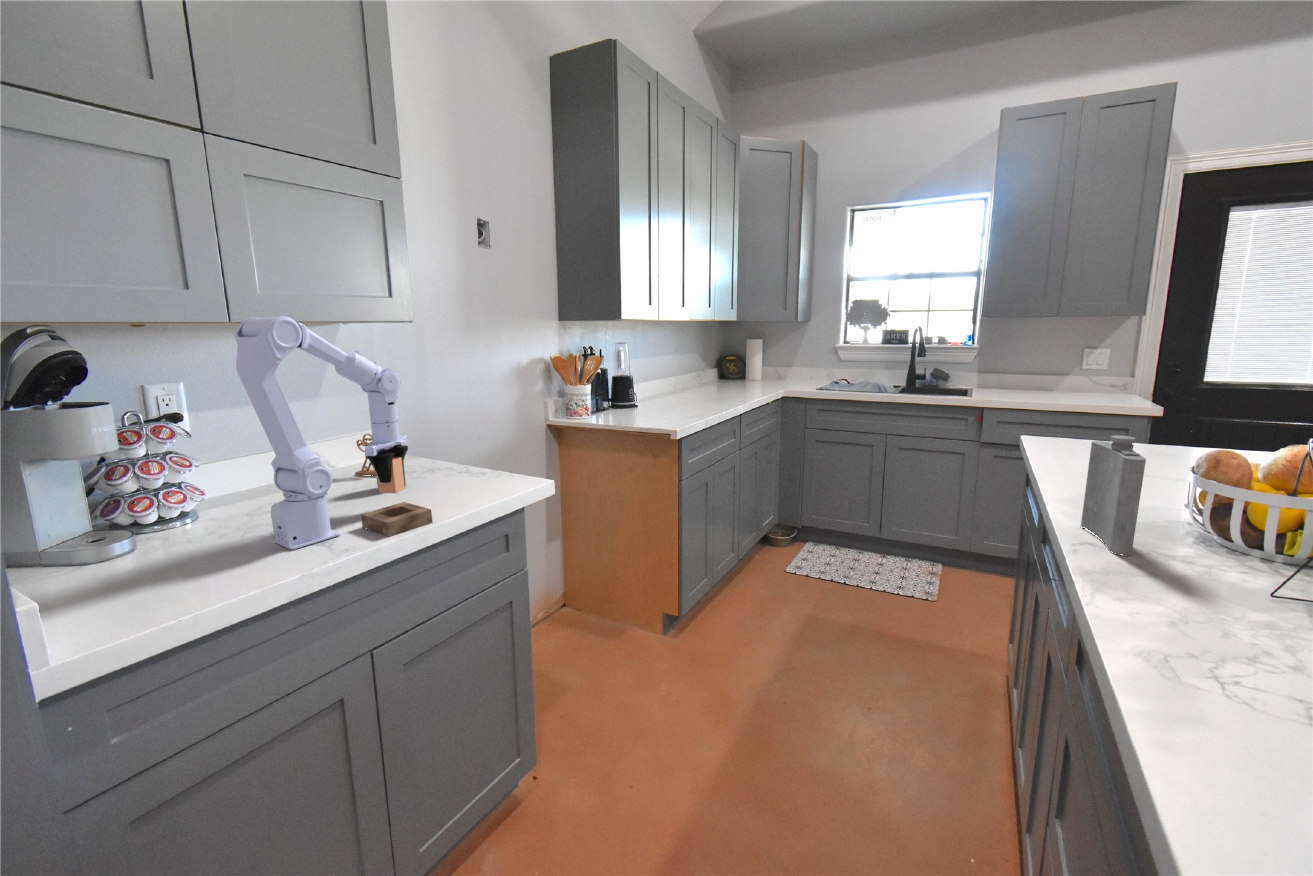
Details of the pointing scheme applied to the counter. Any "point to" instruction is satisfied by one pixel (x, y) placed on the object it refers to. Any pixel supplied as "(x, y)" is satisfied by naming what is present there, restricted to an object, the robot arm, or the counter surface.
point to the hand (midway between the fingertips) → (390, 479)
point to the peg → (393, 478)
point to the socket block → (396, 518)
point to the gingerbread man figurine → (366, 470)
